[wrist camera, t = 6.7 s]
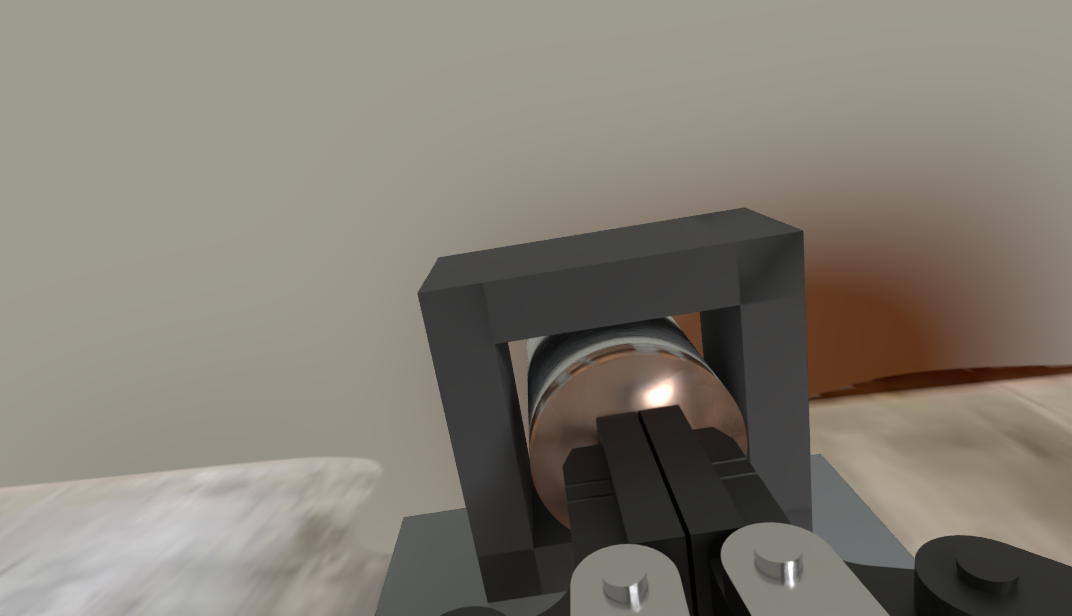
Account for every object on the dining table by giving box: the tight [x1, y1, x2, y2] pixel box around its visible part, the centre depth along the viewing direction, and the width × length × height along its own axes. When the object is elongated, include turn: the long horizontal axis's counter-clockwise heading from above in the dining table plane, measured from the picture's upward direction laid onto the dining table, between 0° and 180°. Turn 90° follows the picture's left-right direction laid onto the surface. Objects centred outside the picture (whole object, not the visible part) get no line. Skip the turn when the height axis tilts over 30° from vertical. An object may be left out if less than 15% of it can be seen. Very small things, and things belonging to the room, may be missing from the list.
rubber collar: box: [418, 208, 813, 603], centre depth 13 cm, size 7×3×7 cm, turn 92°
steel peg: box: [527, 316, 747, 530], centre depth 17 cm, size 4×11×4 cm, turn 2°
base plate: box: [375, 454, 915, 616], centre depth 18 cm, size 16×11×6 cm
